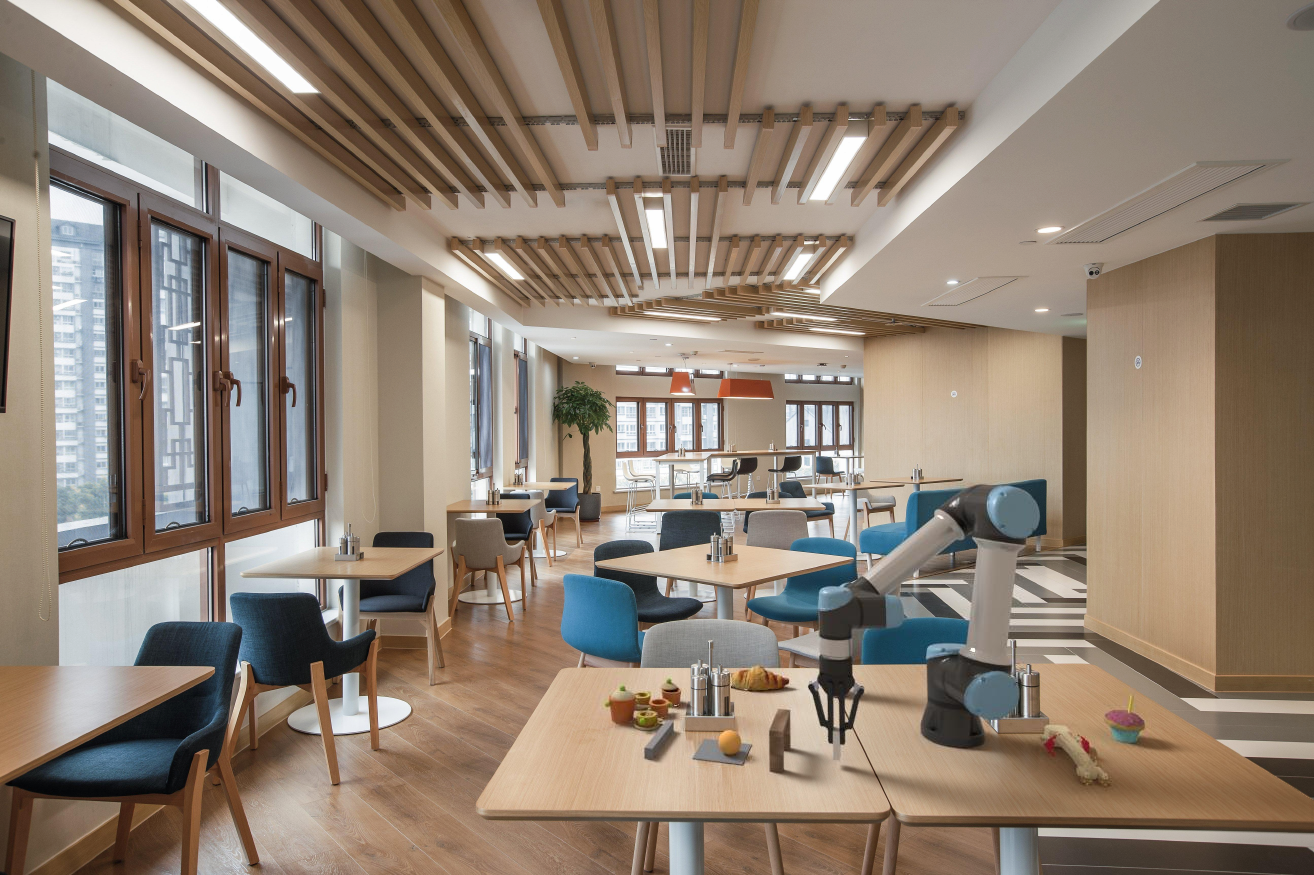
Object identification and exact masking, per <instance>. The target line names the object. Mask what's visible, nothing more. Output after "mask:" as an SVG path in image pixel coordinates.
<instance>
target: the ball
mask: <svg viewBox="0 0 1314 875" xmlns="http://www.w3.org/2000/svg"><path fill="white" fill-rule="evenodd" d="M718 737H719V738H718V740H719V741H718V743H719V747H720V749H721V751H722V752H723V753H725V754H727V755H733V754H736V753H737V752H738V751H739V750H740V748H741V743H742V738H741V736H740V735H739V734H738V732H737V731H734V730H732V729H729V730H728V729H727V730H724V731H723V732H722V733H721V734H720V735H719V736H718Z"/></svg>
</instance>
